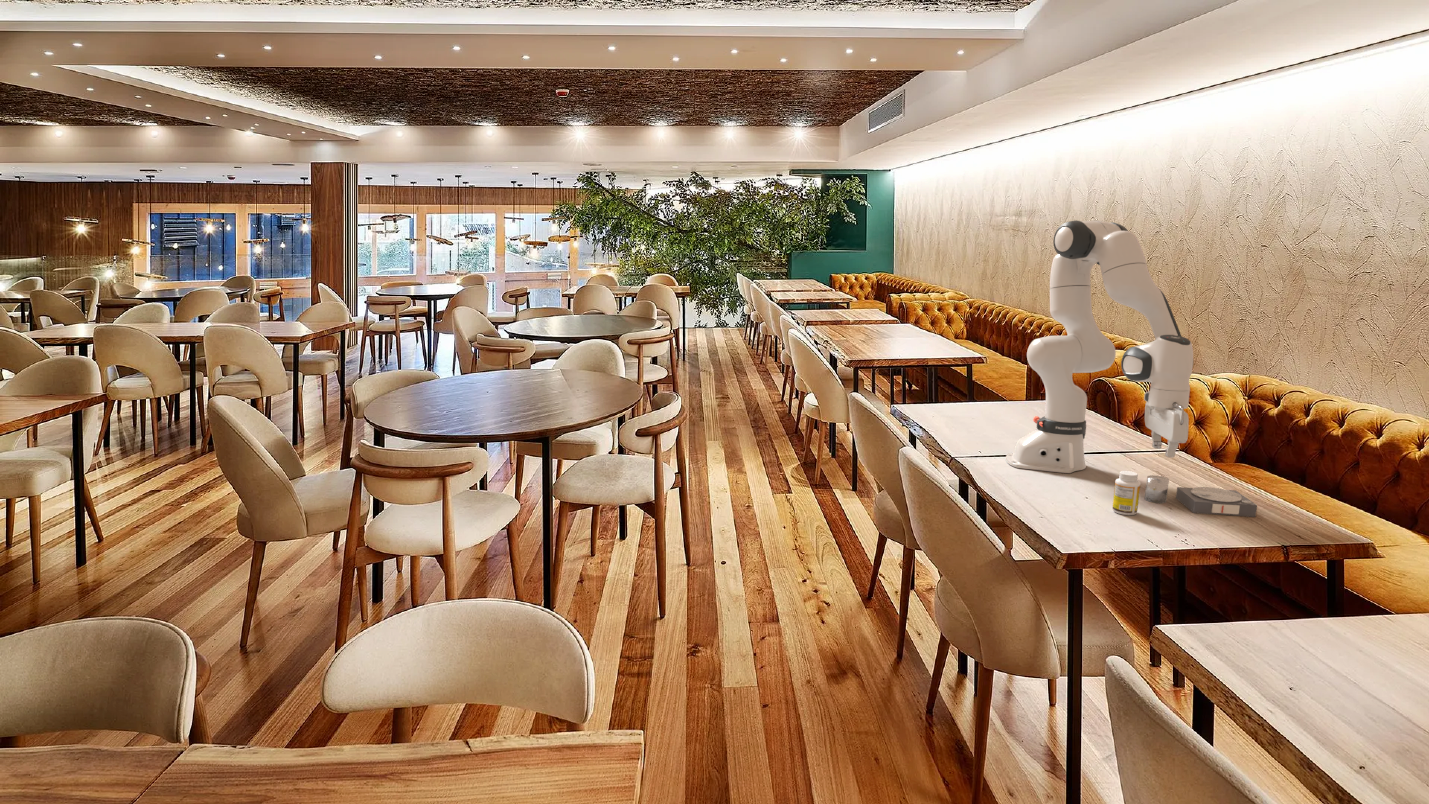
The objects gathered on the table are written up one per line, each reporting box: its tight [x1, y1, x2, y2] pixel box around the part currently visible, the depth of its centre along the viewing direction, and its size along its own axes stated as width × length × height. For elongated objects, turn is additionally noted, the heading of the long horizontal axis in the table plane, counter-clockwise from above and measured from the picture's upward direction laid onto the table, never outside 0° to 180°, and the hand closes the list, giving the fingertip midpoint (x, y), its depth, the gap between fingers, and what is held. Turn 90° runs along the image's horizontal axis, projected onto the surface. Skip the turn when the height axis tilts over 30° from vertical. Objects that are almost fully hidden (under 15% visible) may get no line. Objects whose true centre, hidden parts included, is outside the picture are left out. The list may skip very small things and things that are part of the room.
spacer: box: [1144, 474, 1170, 504], centre depth 211 cm, size 5×5×6 cm
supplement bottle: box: [1112, 470, 1141, 516], centre depth 201 cm, size 6×6×10 cm
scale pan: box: [1191, 486, 1242, 503], centre depth 206 cm, size 11×11×1 cm
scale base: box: [1175, 486, 1258, 518], centre depth 206 cm, size 14×12×3 cm
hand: (1163, 452), depth 209 cm, fingers open, 8 cm apart
